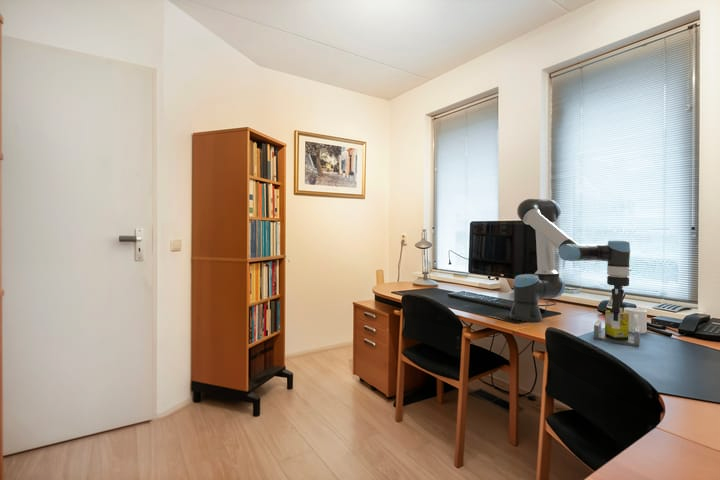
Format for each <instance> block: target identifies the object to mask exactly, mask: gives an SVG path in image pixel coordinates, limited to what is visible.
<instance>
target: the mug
mask: <svg viewBox="0 0 720 480" xmlns="http://www.w3.org/2000/svg"><path fill="white" fill-rule="evenodd" d="M623 312H624V313H628V314H629V332H628V333H631V332H632V334H634V331H635V326H640V333H645V334H646V333H647V323H648V322H647V321H648V320H647V319H648V318H647V317H648V310H646V309H642V308H638V307H637V308H636V307H624V308H623Z"/></svg>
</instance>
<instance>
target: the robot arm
mask: <svg viewBox="0 0 720 480" xmlns="http://www.w3.org/2000/svg"><path fill="white" fill-rule="evenodd" d="M516 211H517V216H518V218H519V219H520V221H522V222H523V223H524V224H525V225H529V226H531V228H533V229H534V231H535V241H536V243H535V244H536V265H537V270H536V271H534V273H533V274H532V273H524V274H518V275H516V276H515V277H514V281H513V282H514V283H513V305H512V307H511V309H510V312H509V318H510V319H512V318H513V319H512V320H515V319H516V320H515V321H519V320H521V321H520V322H525V321H526V322H527V323H539V322H542V318H543V317H542V313H541V310H540V307H539V299H556V298H559V297H560V296H562V295H563V294H564V292H565V291H566V284H565V281H564V280H563V278H562V277H560V273H559V272H558V271H557V269H556V253H555V248H556V249H557V251H558V255H559V257H560V259H561V260H562V261H568V262H580V261H582V262H583V261H585V262H586V261H589V262H590V261H592V262H593V261H596V262H597V261H598V262H607V267H606V271H607V272H606V273H607V275H608V276H606V283H607V285H608V286H613V288H612V289H611V299H612V303H611V309H610V310H609V311H610V312H611V313H612V328H615V329H620V311H621V312H623V309H624V308H625V305H624V304H623V298H624V293H625V290H624V289H623V288H624V287H629V286H630V278H629V276H630V272H632V269H631V268H630V261H631V259H630V258H631V245H630V241H629V240H620V239H619V240H615V239H614V240H612V239H610V240H608V242H607V244H602V243H601V244H599V243H581V244H580V243H577V242H576V241H575V240H574V239H573V238H571V237H570V236H569V235H568V234H566V233H565V232H564V231H563V230H561V229H560V228H559V227H558V226H557V225H556V224H557V220H558V219H559V217H560V216H561V213H562V211H561V207H560V204H559V203H558V202H556V201H555V200H554V199H547V198H545V199H544V198H542V199H541V198H538V199H537V198H527V199H524V200H523V201H521V202H520V203H519V205H518V207H517V209H516Z"/></svg>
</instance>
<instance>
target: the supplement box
mask: <svg viewBox="0 0 720 480" xmlns="http://www.w3.org/2000/svg"><path fill="white" fill-rule="evenodd" d="M604 313H605V314H604V319H605V320H604V332H605V335H607V336H609V337H612V338H614V339H628V336H629V333H630V332H629V314H628V313H624V311H622V312H621V311H620V329H615V328H612V313H611V312H610V310H605V311H604Z"/></svg>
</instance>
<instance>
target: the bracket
mask: <svg viewBox="0 0 720 480" xmlns="http://www.w3.org/2000/svg"><path fill="white" fill-rule="evenodd" d="M633 335H634V336H632V335H628V339H614V338H612V337H609V336H607V335H605V331H603V330H602V319H597V320H596V322H595V323H594V324H593V340H598V341H604V342H609V343H615V344H620V345H627V346H632V347H638V348H639V347H640V340H641V334H640V326H635V331H634V333H633Z"/></svg>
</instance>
